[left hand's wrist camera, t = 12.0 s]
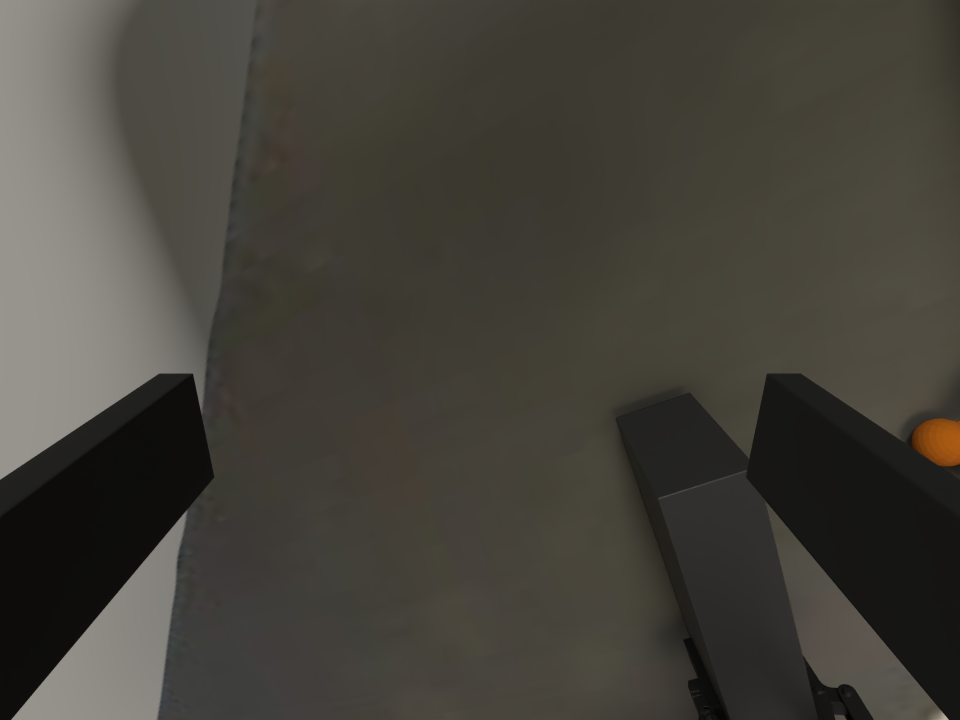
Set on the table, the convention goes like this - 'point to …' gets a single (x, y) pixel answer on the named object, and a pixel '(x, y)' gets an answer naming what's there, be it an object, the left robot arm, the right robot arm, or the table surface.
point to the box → (720, 559)
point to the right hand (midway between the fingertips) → (726, 639)
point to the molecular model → (938, 441)
